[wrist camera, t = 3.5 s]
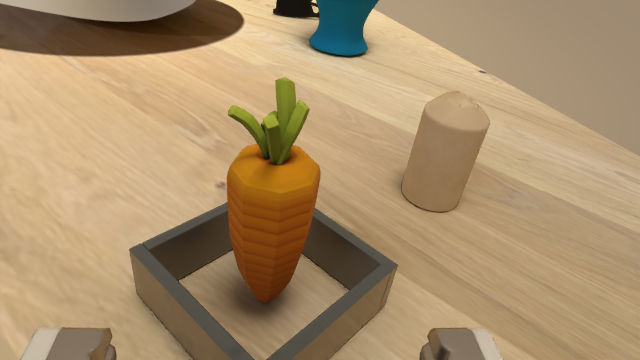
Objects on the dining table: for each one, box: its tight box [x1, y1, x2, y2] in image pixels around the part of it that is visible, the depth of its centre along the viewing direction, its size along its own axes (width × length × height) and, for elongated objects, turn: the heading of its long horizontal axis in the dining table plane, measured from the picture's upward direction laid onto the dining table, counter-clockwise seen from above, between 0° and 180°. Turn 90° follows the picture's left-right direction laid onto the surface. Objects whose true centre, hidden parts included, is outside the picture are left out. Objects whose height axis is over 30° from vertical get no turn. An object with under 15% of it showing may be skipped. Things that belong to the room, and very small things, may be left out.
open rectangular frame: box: [129, 202, 398, 360], centre depth 27 cm, size 12×12×4 cm
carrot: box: [227, 77, 320, 302], centre depth 24 cm, size 5×5×15 cm
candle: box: [402, 91, 490, 212], centre depth 38 cm, size 6×6×10 cm
